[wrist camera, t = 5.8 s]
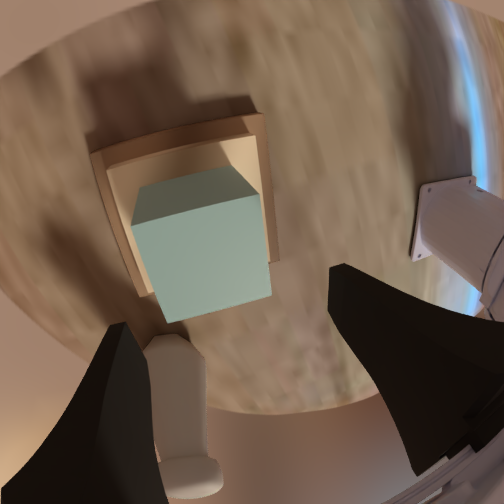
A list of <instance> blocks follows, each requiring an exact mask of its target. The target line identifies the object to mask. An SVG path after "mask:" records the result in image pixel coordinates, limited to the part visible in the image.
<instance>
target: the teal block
mask: <svg viewBox="0 0 504 504" xmlns="http://www.w3.org/2000/svg"><path fill="white" fill-rule="evenodd" d="M130 227H131V230H132V233H133V236H134V239H135V241H136V244H137V247H138V250H139V253H140V256H141V258H142V261H143V264H144V266H145V269H146V272H147V274H148V277H149V279H150V282H151V285H152V287H153V290H154V292H155V295H156V297H157V300H158V302H159V304H160V307H161V309H162V312H163V314H164V316H165V319H166V321H167V323H171V322H175V321H179V320H183V319H187V318H191V317H195V316H199V315H203V314H206V313H210V312H214V311H218V310H221V309H225V308H229V307H232V306H236V305H240V304H243V303H247V302H250V301H254V300H257V299H261V298H264V297H268V296H271V295H272V292H271V284H270V275H269V267H268V258H267V250H266V242H265V233H264V225H263V217H262V209H261V201H260V194H259V193H258V192H257V191H256V190H255V189H254V188H253V187H252V186H251V185H250V183H249V182H248V181H247V180H246V179H245V178H244V177H243V176H242V175H241V174H240V173H239V172H238V171H237V170H236V169H235V168H234V167H233V166H232V165H230V166H225V167H220V168H216V169H211V170H207V171H203V172H198V173H194V174H190V175H186V176H182V177H178V178H174V179H170V180H166V181H162V182H158V183H155V184H151V185H147V186H144V187H140V188H139V192H138V196H137V200H136V204H135V208H134V213H133V217H132V221H131V226H130Z"/></svg>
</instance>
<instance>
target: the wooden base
mask: <svg viewBox="0 0 504 504" xmlns="http://www.w3.org/2000/svg"><path fill="white" fill-rule="evenodd" d="M90 158H91V161H92V165H93V169H94V172H95V176H96V179H97V182H98V186H99V189H100V192H101V196H102V199H103V202H104V205H105V208H106V211H107V214H108V217H109V220H110V223H111V226H112V229H113V231H114V234H115V237H116V240H117V242H118V245H119V248H120V250H121V253H122V256H123V258H124V261H125V263H126V266H127V268H128V271H129V273H130V276H131V278H132V281H133V283H134V285H135V288H136V290H137V292H138V295H139V297H143V296H147V295H151V294H155V292H154V290H153V287H152V285H151V282H150V279H149V277H148V274H147V272H146V269H145V266H144V264H143V261H142V258H141V256H140V253H139V250H138V247H137V244H136V241H135V239H134V236H133V233H132V230H131V227H130V226H131V221H132V217H133V213H134V208H135V204H136V200H137V196H138V192H139V188H140V187H144V186H147V185H151V184H155V183H158V182H162V181H166V180H170V179H174V178H178V177H182V176H186V175H190V174H194V173H198V172H203V171H207V170H211V169H216V168H220V167H225V166H230V165H232V166H233V167H234V168H235V169H236V170H237V171H238V172H239V173H240V174H241V175H242V176H243V177H244V178H245V179H246V180H247V181H248V182H249V183H250V185H251V186H252V187H253V188H254V189H255V190H256V191H257V192H258V193H259V194H260V201H261V209H262V217H263V225H264V233H265V242H266V250H267V258H268V264H270V263H273V262H277V261H280V259H279V248H278V237H277V226H276V216H275V206H274V196H273V187H272V178H271V168H270V159H269V151H268V142H267V133H266V125H265V117H264V113H258V112H257V113H250V114H243V115H237V116H231V117H225V118H219V119H214V120H209V121H204V122H199V123H194V124H189V125H185V126H180V127H176V128H172V129H167V130H163V131H159V132H155V133H152V134H148V135H144V136H140V137H137V138H133V139H130V140H126V141H123V142H120V143H116V144H113V145H110V146H107V147H104V148H101V149H98V150H95V151H93V152H92V153H91V154H90Z"/></svg>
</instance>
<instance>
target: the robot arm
mask: <svg viewBox="0 0 504 504" xmlns="http://www.w3.org/2000/svg"><path fill="white" fill-rule="evenodd" d="M476 181H477V179H476V177H475V176H467V177H461V178H456V179H450V180H444V181H439V182H434V183H428V184H424V185H422V186H421V188H420V195H419V204H418V212H417V220H416V227H415V233H414V239H413V245H412V251H411V257H410V258H411V260H412V261H417V260H419V259H422V258H424V257H427V256H429V255H432V254H434V255H435V256H436V257H438V258H439V259H440V260H442V261H443V262H444V263H445V264H447V265H448V266H449V267H450V268H452V269H453V270H454V271H455V272H457V273H458V274H459V275H460V276H462V277H463V278H464V279H465V280H466V281H468V282H469V283H470V284H471V285H472V286H474V287H475V288H476V289H477V290H478V291H479V292H481V293H482V295H481V298H480V300H479V301H480V302H481V303H482V304H484V305H485V306H486V307H485V311H484V315H485V319H482V318H477V317H473V316H469V315H465V314H461V313H457V312H454V311H451V310H447V309H445V308H442V307H439V306H436V305H433V304H430V303H428V302H425V301H423V300H420V299H418V298H416V297H414V296H411V295H409V294H407V293H405V292H402V291H400V290H398V289H396V288H394V287H392V286H390V285H388V284H386V283H384V282H382V281H380V280H378V279H376V278H374V277H372V276H370V275H368V274H366V273H364V272H362V271H360V270H358V269H356V268H354V267H352V266H350V265H347V264H345V263H343V264H339V265H336V266H333V267H330V268H329V291H328V312H329V314H330V316H331V318H332V320H333V322H334V324H335V325H336V327H337V329H338V331H339V333H340V334H341V335H342V337H343V338H344V340H345V341H346V343H347V344H348V345H349V347H350V348H351V350H352V351H353V352H354V354H355V355H356V357H357V358H358V359H359V361H360V362H361V364H362V365H363V366H364V368H365V369H366V371H367V372H368V373H369V375H370V376H371V378H372V380H373V381H374V383H375V384H376V386H377V388H378V390H379V392H380V394H381V395H382V397H383V399H384V401H385V403H386V405H387V407H388V409H389V411H390V413H391V416H392V418H393V420H394V422H395V424H396V427H397V429H398V431H399V434H400V436H401V438H402V441H403V444H404V446H405V449H406V452H407V455H408V458H409V461H410V464H411V467H412V470H413V471H414V473H415V474H416V476H420V475H421V474H423V473H424V472H426V471H427V470H428V469H430V468H431V467H433V466H434V465H436V464H437V463H439V462H440V461H441V460H443V459H444V458H445V457H447V458H448V459H449V461H448V462H446V463H445V464H444V465H442V466H441V467H439V468H438V469H437V470H435V471H434V472H432V473H431V474H430V475H428V476H427V477H425V478H424V479H422V480H421V481H419V482H418V483H416V484H414V485H413V486H411V487H410V488H408V489H406V490H405V491H403V492H401V493H400V494H398V495H396V496H395V497H393V498H391V499H390V500H388V501H386V502H384V503H382V504H417V503H419V502H420V501H422V500H423V499H425V498H426V497H428V496H429V495H431V494H432V493H434V492H435V491H436V490H438V489H439V488H440V487H442V486H443V487H442V492H441V493H440V494H438V495H436V496H434V497H433V498H431V499H429V500H427V501H426V502H424V503H423V504H504V200H502V199H501V198H499V197H497V196H495V195H493V194H491V193H489V192H487V191H485V190H483V189H481V188H480V187H478V186H476ZM1 504H169V502H168V499H167V496H166V493H165V489H164V486H163V482H162V479H161V475H160V471H159V466H158V462H157V458H156V453H155V446H154V437H153V421H152V402H151V384H150V377H149V370H148V364H147V359H146V358H145V356H144V354H143V352H142V351H141V349H140V347H139V345H138V344H137V342H136V340H135V338H134V336H133V335H132V333H131V331H130V329H129V327H128V325H127V323H126V322H122V323H118V324H113V325H110V326H109V328H108V330H107V332H106V333H105V335H104V337H103V339H102V341H101V343H100V345H99V347H98V349H97V351H96V353H95V355H94V357H93V359H92V361H91V363H90V365H89V367H88V369H87V371H86V373H85V375H84V377H83V379H82V381H81V383H80V385H79V387H78V388H77V390H76V392H75V394H74V396H73V398H72V400H71V401H70V403H69V405H68V406H67V408H66V410H65V411H64V413H63V415H62V416H61V418H60V419H59V421H58V422H57V424H56V425H55V427H54V428H53V429H52V431H51V432H50V434H49V435H48V436H47V438H46V439H45V440H44V442H43V443H42V445H41V446H40V447H39V449H38V450H37V451H36V452H35V453H34V455H33V456H32V457H31V458H30V459H29V461H28V462H27V463H26V464H25V465H24V467H22V468H21V470H19V472H18V473H16V474H15V476H13V477H12V478H11V479H10V480H9V481H8V482H7V483H6V484H5V485H4V486H3V487H2V488H1Z"/></svg>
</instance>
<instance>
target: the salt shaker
mask: <svg viewBox="0 0 504 504" xmlns="http://www.w3.org/2000/svg"><path fill="white" fill-rule="evenodd" d="M143 354H144V356H145V358H146V359H147V364H148V370H149V377H150V384H151V402H152V421H153V437H154V441H155V444H156V447H157V450H158V452H159V456H160V459H161V462H159V463H158V466H159V471H160V475H161V479H162V482H163V486H164V489H165V493H166V496H169V497H173V498H179V499H192V498H201V497H205V496H208V495H211V494H214V493H216V492H217V491H219V490H220V489H221V487H222V486H223V474H222V470H221V468H220V465H219V463H218V462H217V460H215V459H213V458H210V457H208V442H207V415H206V414H207V413H206V401H207V369H206V361H205V359H204V357H203V356H202V355H201V354H200V352H199V351H198V350H197V349H196V348H195V347H194V346H193V344H192V343H190V342H189V341H187V340H186V339H184V338H182V337H181V336H179V335H178V334H176V333H175V334H167V335H159V336H154V337H153V339H152V340H151V341H150V343H149V344H148V345H147V347H146V348H145V349H144V350H143Z"/></svg>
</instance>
